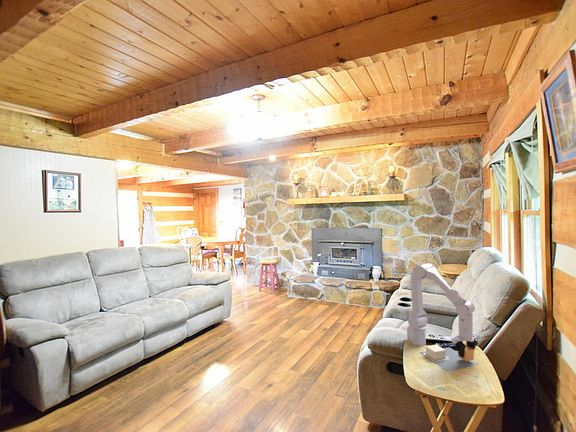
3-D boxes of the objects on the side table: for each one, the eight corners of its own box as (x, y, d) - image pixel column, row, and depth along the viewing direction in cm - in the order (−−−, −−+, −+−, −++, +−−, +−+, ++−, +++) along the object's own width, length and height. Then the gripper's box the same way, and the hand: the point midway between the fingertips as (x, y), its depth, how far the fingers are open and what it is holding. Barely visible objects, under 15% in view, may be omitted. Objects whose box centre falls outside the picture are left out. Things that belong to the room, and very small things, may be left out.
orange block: (458, 356, 144) (457, 346, 144) (465, 355, 146) (465, 345, 145) (465, 361, 140) (465, 350, 140) (473, 359, 141) (473, 349, 141)
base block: (426, 354, 150) (426, 346, 150) (436, 352, 152) (436, 344, 151) (435, 360, 144) (435, 351, 144) (445, 358, 146) (445, 350, 146)
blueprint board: (419, 353, 152) (419, 352, 152) (449, 348, 157) (448, 347, 157) (446, 372, 135) (446, 371, 135) (479, 365, 139) (479, 364, 139)
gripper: (459, 332, 137) (460, 362, 137) (485, 328, 140) (485, 357, 141) (447, 327, 143) (448, 355, 144) (472, 323, 147) (472, 350, 148)
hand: (465, 355), depth 143 cm, fingers closed on orange block, 4 cm apart
